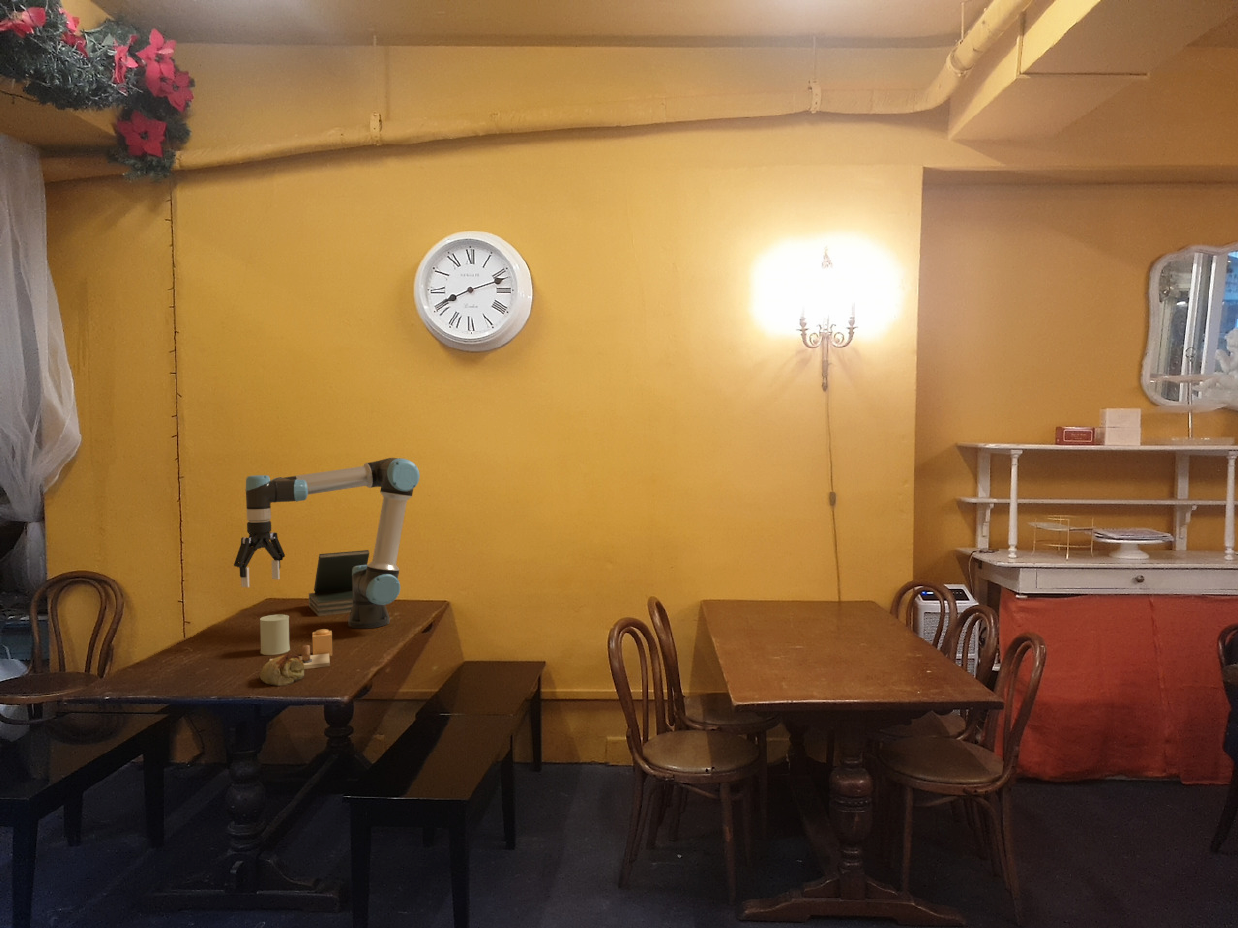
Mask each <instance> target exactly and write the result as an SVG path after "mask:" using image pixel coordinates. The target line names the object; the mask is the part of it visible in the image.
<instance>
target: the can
mask: <svg viewBox="0 0 1238 928" xmlns="http://www.w3.org/2000/svg"><path fill="white" fill-rule="evenodd" d="M289 620H290V616H289V615H288V614H270V615H266V616H262V617H260V619H259V625H260V626H259V627H260V628H259V629H260V630H259V631H260V654H262V655H265V656H274V655H275V656H276V655H281V654H285V653H288V652H289V651H291V647H290V621H289Z"/></svg>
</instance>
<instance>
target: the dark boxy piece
mask: <svg viewBox="0 0 1238 928" xmlns="http://www.w3.org/2000/svg"><path fill="white" fill-rule="evenodd" d="M369 558H370V550H369V549H364V550H353V551H351V550H350V551H342V552H341V551H339V552H328V553H319V554H318V562H317V568H316V573H315V574H316V575H315V580H314V581H315V582H314V587H313V591H314V592H309V593H308V603H309V604H308V607H309V609H311V610H312V612H314V614H315V615H316V616H317V617H325V616H334V615H342V614H348V613H349V614H350V613H351V610H352V606H353V587H352V569H353V567H355V566H359V565H368V564H369Z"/></svg>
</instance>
